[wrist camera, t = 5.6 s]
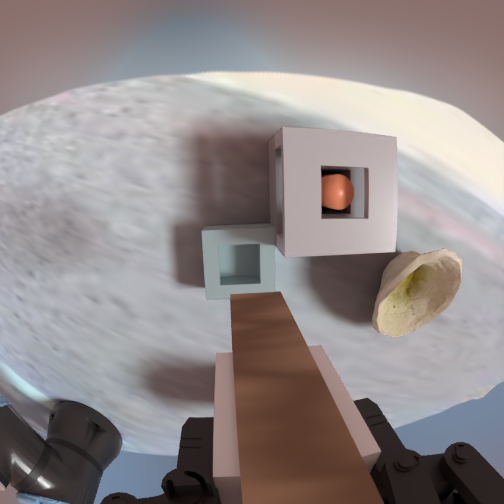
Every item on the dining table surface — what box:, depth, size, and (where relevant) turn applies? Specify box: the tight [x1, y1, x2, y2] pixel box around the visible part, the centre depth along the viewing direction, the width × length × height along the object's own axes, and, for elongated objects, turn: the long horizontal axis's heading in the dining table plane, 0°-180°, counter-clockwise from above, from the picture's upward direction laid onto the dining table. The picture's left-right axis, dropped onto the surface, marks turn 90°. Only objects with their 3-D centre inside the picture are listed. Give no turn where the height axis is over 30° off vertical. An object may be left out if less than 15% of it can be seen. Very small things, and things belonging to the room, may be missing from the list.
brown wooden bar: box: [230, 292, 384, 504], centre depth 10 cm, size 3×3×18 cm
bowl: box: [372, 248, 463, 337], centre depth 35 cm, size 15×14×10 cm
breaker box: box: [268, 127, 398, 257], centre depth 31 cm, size 12×12×10 cm
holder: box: [202, 223, 275, 300], centre depth 35 cm, size 8×8×4 cm
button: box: [321, 174, 354, 210], centre depth 31 cm, size 4×4×5 cm
